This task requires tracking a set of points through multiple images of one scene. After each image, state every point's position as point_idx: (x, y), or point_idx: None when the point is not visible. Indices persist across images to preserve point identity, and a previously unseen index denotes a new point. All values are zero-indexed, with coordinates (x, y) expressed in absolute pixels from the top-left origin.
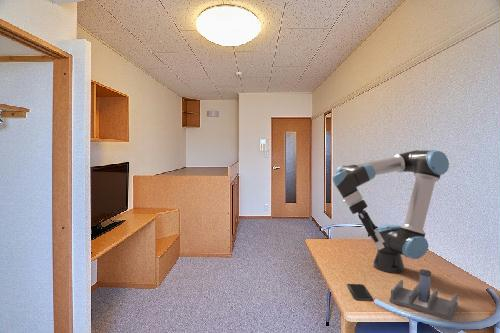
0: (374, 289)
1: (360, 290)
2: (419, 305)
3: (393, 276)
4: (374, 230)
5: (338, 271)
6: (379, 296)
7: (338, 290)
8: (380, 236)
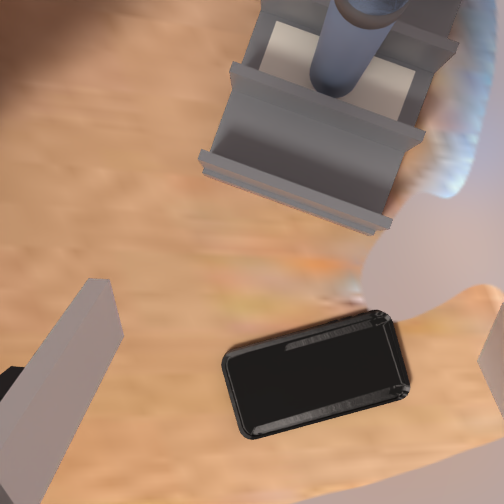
0: (242, 300)
1: (302, 370)
2: (404, 103)
3: (9, 193)
4: (14, 487)
5: (54, 493)
6: (321, 278)
7: (326, 473)
8: (74, 347)
